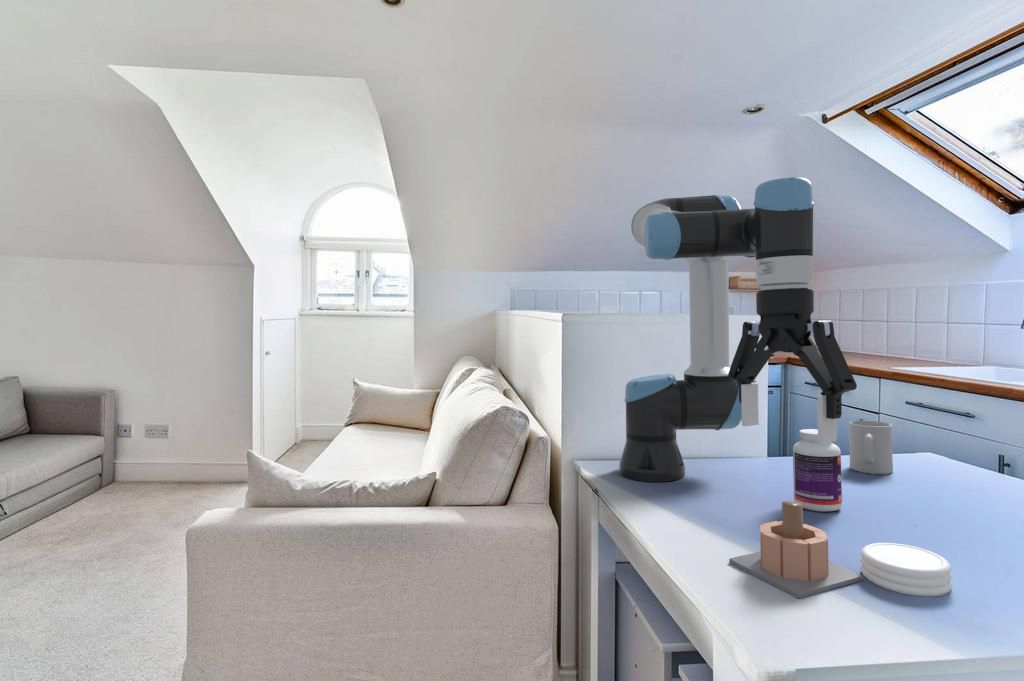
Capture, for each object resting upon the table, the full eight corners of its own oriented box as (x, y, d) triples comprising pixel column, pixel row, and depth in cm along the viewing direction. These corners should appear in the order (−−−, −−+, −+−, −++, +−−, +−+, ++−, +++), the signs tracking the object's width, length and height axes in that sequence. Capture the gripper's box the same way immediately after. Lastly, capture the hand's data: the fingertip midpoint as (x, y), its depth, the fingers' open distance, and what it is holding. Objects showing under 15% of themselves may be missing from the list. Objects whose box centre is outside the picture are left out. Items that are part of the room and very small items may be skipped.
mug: (851, 463, 136) (850, 419, 136) (893, 468, 131) (892, 422, 131) (846, 475, 126) (846, 427, 126) (892, 480, 121) (891, 430, 121)
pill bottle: (849, 514, 101) (847, 435, 100) (801, 513, 102) (799, 435, 102) (832, 500, 109) (831, 427, 108) (788, 499, 110) (787, 427, 110)
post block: (729, 562, 82) (728, 498, 82) (789, 548, 86) (788, 487, 86) (798, 598, 71) (797, 524, 71) (863, 580, 75) (862, 510, 75)
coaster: (971, 592, 71) (971, 565, 71) (909, 603, 69) (908, 575, 69) (900, 561, 81) (900, 537, 81) (843, 570, 79) (843, 545, 79)
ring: (747, 561, 81) (747, 527, 81) (790, 550, 84) (789, 518, 84) (796, 585, 73) (796, 547, 73) (841, 572, 76) (840, 536, 76)
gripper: (704, 293, 91) (706, 421, 92) (846, 281, 68) (847, 453, 68) (739, 292, 93) (741, 417, 94) (887, 281, 70) (888, 447, 71)
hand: (785, 433), depth 81 cm, fingers open, 13 cm apart
